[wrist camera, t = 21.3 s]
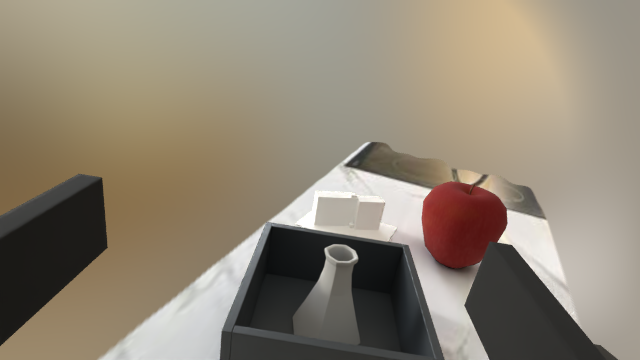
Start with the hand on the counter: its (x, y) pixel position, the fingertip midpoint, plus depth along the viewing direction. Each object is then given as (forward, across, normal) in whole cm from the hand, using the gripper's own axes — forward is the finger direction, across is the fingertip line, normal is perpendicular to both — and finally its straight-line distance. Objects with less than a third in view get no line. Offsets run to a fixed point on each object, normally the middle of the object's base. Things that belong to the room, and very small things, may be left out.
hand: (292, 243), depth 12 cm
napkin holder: (+44, +7, -23) cm, 51 cm away
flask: (+19, +4, -22) cm, 30 cm away
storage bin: (+19, +4, -23) cm, 30 cm away
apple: (+39, +23, -23) cm, 51 cm away
